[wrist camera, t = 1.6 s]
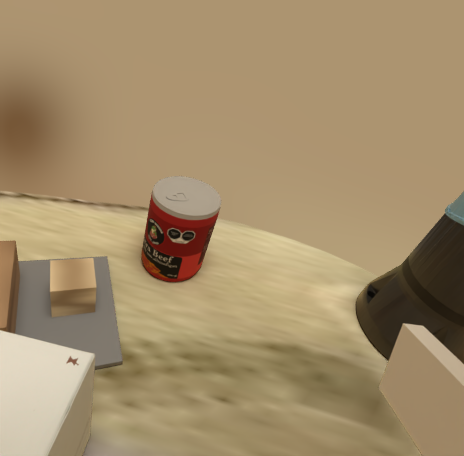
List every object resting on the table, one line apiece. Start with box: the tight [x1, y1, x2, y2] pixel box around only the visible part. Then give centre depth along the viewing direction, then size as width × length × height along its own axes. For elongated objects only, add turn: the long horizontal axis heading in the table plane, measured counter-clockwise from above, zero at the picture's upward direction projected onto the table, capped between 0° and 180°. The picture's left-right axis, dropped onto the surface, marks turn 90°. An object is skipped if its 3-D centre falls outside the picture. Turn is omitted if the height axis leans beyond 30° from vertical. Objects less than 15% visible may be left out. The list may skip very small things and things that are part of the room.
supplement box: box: [0, 330, 95, 456], centre depth 21 cm, size 7×7×13 cm
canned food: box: [142, 176, 221, 282], centre depth 42 cm, size 8×8×11 cm
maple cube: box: [50, 258, 96, 317], centre depth 35 cm, size 4×4×4 cm
